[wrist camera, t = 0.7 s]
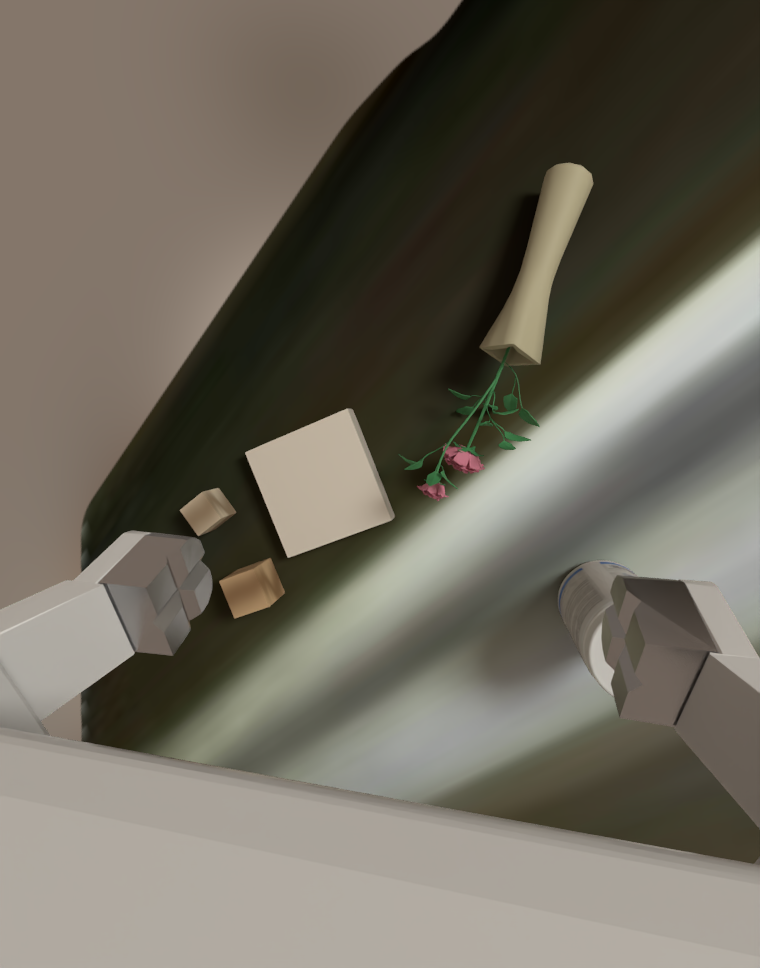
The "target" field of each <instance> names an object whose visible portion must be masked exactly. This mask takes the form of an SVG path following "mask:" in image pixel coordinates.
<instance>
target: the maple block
mask: <svg viewBox="0 0 760 968" xmlns="http://www.w3.org/2000/svg"><path fill="white" fill-rule="evenodd" d="M180 511H181V513H182V514H183V516H184V517H185V518H186V520H187V521H188V523H189V524H190V525H191V527H192V528H193V529H194V531H195V532H196V534H197V535H198V536H200V535H203V534H205V533H208V532H210V531H213V530H215V529H216V528H218V527H219V526H220V525H221V524H223V523H224V522H225V521H226V520H228V519H229V518H230V517H232V516H233V515H234V514H235V513H236V511H235V510H234V508H233V507H232V506H231V504H230V503H229V501H228V500H227V499H226V497H225V496H224V495H223V493H222V492H221V490H220V489H219V488H216V489H212V490H208V491H204V492H202V493H200V494H199V495H198V496H197V497H195V498H194V499H193V500H192V501H190V502H189V503H188V504H187V505H186V506H184V507H183V508H182V509H181V510H180Z"/></svg>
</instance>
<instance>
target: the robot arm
mask: <svg viewBox="0 0 760 968" xmlns="http://www.w3.org/2000/svg"><path fill="white" fill-rule="evenodd" d="M203 555H204V550H203V547H202V544H201V541H200V540H198V539H196V538H194V537H187V536H178V535H169V534H160V533H148V532H139V531H129V532H126V533H123V534H122V535H121V536H120V537H119V538H118V539H117V540H116V541H115V542H114V543H113V544H112V545H111V546H109V547H108V548H107V549H106V550H105V551H104V552H103V553H102V554H101V555H100V556H99V557H98V558H97V559H96V560H95V561H94V562H92V563H91V564H90V565H89V566H88V567H87V568H86V569H85V570H84V571H83V572H82V573H81V574H80V575H79V576H78V577H77V578H76V579H74V580H73V581H69V580H66V581H63V582H61V583H59V584H57V585H54V586H52V587H50V588H48V589H46V590H43V591H41V592H39V593H37V594H34V595H32V596H30V597H27V598H25V599H23V600H21V601H19V602H16V603H14V604H12V605H10V606H7V607H5V608H3V609H1V610H0V968H760V857H759V858H758V860H757V861H756V862H755V863H754V864H750V863H745V862H739V861H734V860H728V859H723V858H717V857H712V856H706V855H701V854H695V853H690V852H684V851H679V850H673V849H668V848H662V847H657V846H651V845H646V844H640V843H635V842H629V841H624V840H618V839H613V838H607V837H602V836H596V835H591V834H585V833H580V832H574V831H569V830H563V829H558V828H552V827H547V826H541V825H536V824H530V823H525V822H519V821H514V820H508V819H503V818H497V817H492V816H486V815H481V814H475V813H470V812H464V811H459V810H453V809H448V808H442V807H437V806H431V805H426V804H420V803H415V802H409V801H404V800H398V799H393V798H388V797H382V796H377V795H371V794H366V793H360V792H355V791H349V790H344V789H338V788H333V787H327V786H322V785H317V784H311V783H306V782H300V781H295V780H289V779H284V778H278V777H273V776H267V775H262V774H256V773H251V772H245V771H240V770H234V769H229V768H223V767H218V766H213V765H207V764H202V763H196V762H191V761H185V760H180V759H174V758H169V757H163V756H158V755H152V754H147V753H141V752H136V751H130V750H125V749H119V748H114V747H108V746H103V745H97V744H92V743H86V742H81V741H75V740H70V739H64V738H59V737H53V736H50V734H49V733H48V731H47V730H46V728H45V727H44V726H43V724H42V723H41V721H42V720H43V719H44V718H46V717H47V716H49V715H50V714H51V713H53V712H54V711H56V710H57V709H58V708H60V707H61V706H63V705H64V704H65V703H67V702H68V701H69V700H71V699H72V698H74V697H75V696H76V695H78V694H79V693H81V692H82V691H83V690H85V689H86V688H88V687H89V686H90V685H92V684H93V683H95V682H96V681H97V680H99V679H100V678H102V677H103V676H104V675H106V674H107V673H108V672H110V671H111V670H113V669H114V668H115V667H117V666H118V665H120V664H121V663H122V662H124V661H125V660H127V659H128V658H129V657H131V656H132V655H134V651H135V652H144V653H153V654H162V655H172V656H173V655H174V654H175V652H176V651H177V649H178V648H179V646H180V645H181V643H182V642H183V640H184V639H185V637H186V636H187V634H188V633H189V631H190V630H191V629H190V622H189V621H190V620H191V619H193V618H195V617H196V616H198V615H200V614H201V613H202V612H203V610H204V609H205V607H206V606H207V604H208V602H209V599H210V595H211V592H212V577H211V573H210V569H209V568H208V567H207V566H205V565H204V564H203V563H202V562H201V561H200V560H201V558H202V557H203ZM610 593H611V596H612V599H613V603H614V604H612V605H611V606H610V607H608V608H607V609H605V613H604V617H603V621H602V634H601V640H602V649H603V653H604V658H605V662H606V663H607V664H608V665H609V666H610V667H611V668H612V669H613V670H614V674H613V677H612V681H611V686H612V690H613V694H614V698H615V702H616V706H617V710H618V714H619V718H624V719H630V720H636V721H642V722H648V723H654V724H660V725H666V726H672V727H675V729H674V730H675V731H676V732H677V733H678V734H679V735H680V737H681V738H682V739H683V740H684V741H685V742H686V744H687V745H688V746H689V747H690V748H691V749H692V751H693V752H694V753H695V754H696V755H697V756H698V758H699V759H700V760H701V761H702V762H703V763H704V764H705V766H706V767H707V768H708V769H709V770H710V771H711V773H712V774H713V775H714V776H715V777H716V778H717V780H718V781H719V782H720V783H721V784H722V785H723V787H724V788H725V789H726V790H727V791H728V792H729V794H730V795H731V796H732V797H733V798H734V799H735V800H736V802H737V803H738V804H739V805H740V806H741V807H742V809H743V810H744V811H745V812H746V813H747V814H748V816H749V817H750V818H751V819H752V820H753V821H754V823H755V824H756V825H757V826H758V827H759V828H760V658H759V656H758V655H757V653H756V651H755V650H754V648H753V646H752V644H751V643H750V641H749V639H748V638H747V636H746V634H745V633H744V631H743V629H742V627H741V626H740V624H739V622H738V621H737V619H736V617H735V615H734V614H733V612H732V610H731V609H730V607H729V605H728V604H727V602H726V600H725V598H724V597H723V595H722V593H721V592H720V590H719V588H718V586H717V585H715V584H714V583H712V582H707V581H693V580H671V579H659V578H647V577H635V576H623V575H617V576H616V578H615V579H614V581H613V584H612V587H611V591H610Z"/></svg>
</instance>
